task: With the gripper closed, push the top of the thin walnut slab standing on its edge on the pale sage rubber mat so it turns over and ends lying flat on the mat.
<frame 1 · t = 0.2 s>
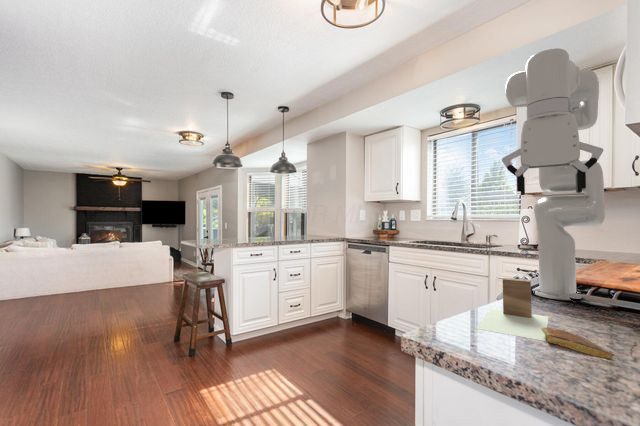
hand: (549, 193, 68), 31 cm above the worktop, fingers open, 9 cm apart
walnut slab: (517, 314, 83), point 1 cm above the worktop, touching sage mat
shard: (576, 346, 64), on the worktop, touching sage mat
sage mat: (514, 324, 78), on the worktop
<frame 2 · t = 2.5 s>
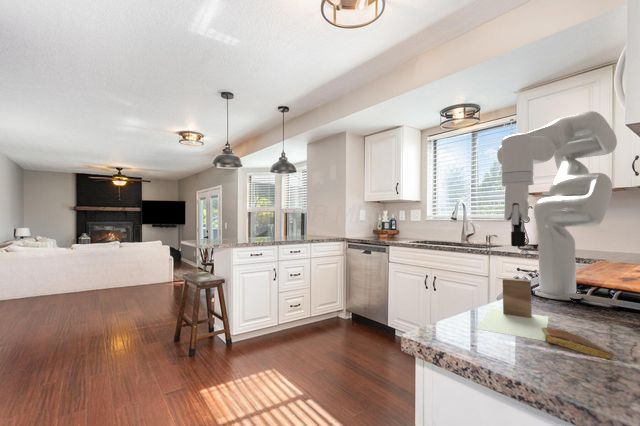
hand: (518, 246, 89), 18 cm above the worktop, fingers closed
nothing on the worktop moved.
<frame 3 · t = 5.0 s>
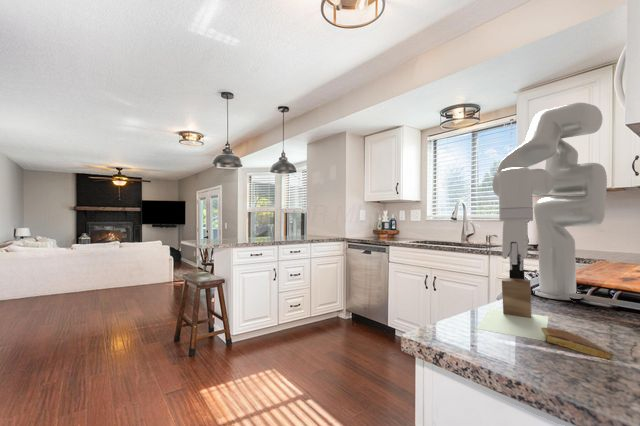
hand: (517, 285, 85), 8 cm above the worktop, fingers closed
walnut slab: (517, 313, 83), point 1 cm above the worktop, tilted 9°, touching sage mat
everything else where it was.
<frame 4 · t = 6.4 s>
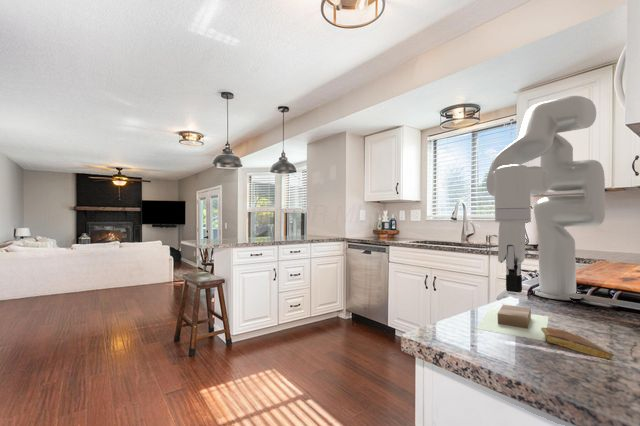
hand: (514, 291, 79), 8 cm above the worktop, fingers closed
walnut slab: (516, 311, 82), point 2 cm above the worktop, tilted 90°, touching sage mat
everything else where it was.
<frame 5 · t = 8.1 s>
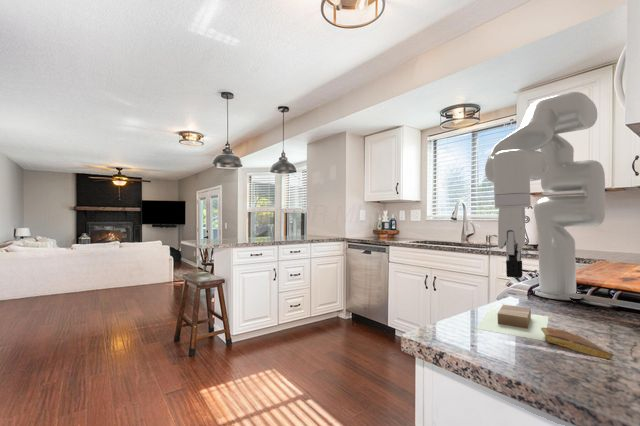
hand: (514, 276, 79), 11 cm above the worktop, fingers closed
nothing on the worktop moved.
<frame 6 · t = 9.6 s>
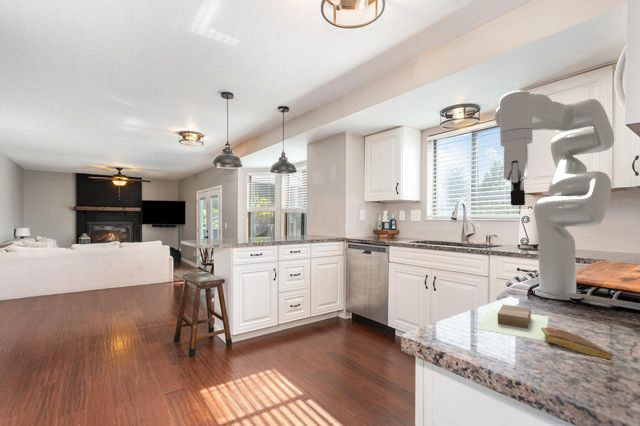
hand: (518, 205, 89), 29 cm above the worktop, fingers closed
nothing on the worktop moved.
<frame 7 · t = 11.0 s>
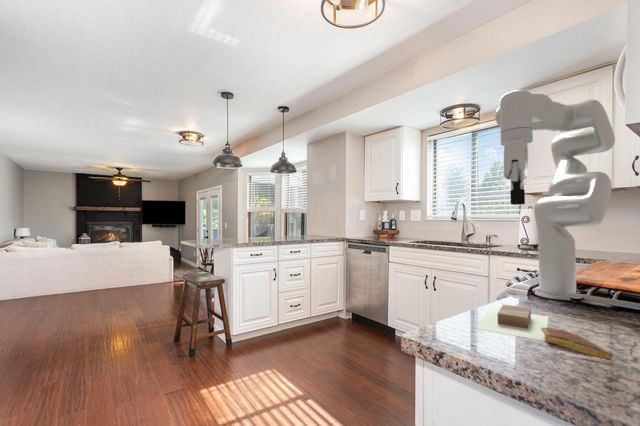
hand: (517, 204, 89), 29 cm above the worktop, fingers closed
nothing on the worktop moved.
at the end: walnut slab tilted 90°; walnut slab touching sage mat; walnut slab inside the target area (1.2 cm from its centre), point 1.8 cm above the worktop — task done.
